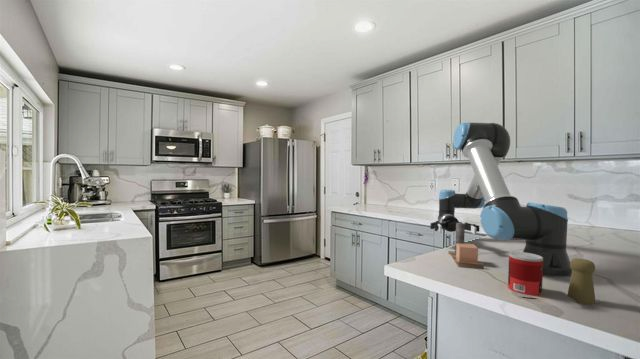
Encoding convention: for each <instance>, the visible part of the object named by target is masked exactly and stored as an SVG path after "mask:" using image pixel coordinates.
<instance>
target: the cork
mask: <svg viewBox="0 0 640 359" xmlns="http://www.w3.org/2000/svg"><path fill="white" fill-rule="evenodd" d="M570 267H571V269H572V274H571V275H570V281H569V283H568V284H569V285H568V290H567V294H566V296H567V297H569V298H570V299H571V300H573V301H574V302H576V303H578V304H582V305H588V306H589V305H591V306H593V305H596V304H597V301H596V294H595V286H594V277H593V274H594V273H595V271H596V265H595V263H594V262H593V261H591V260H589V259H586V258H585V259H584V258H573V259H570Z"/></svg>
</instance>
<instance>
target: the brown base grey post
mask: <svg viewBox="0 0 640 359" xmlns="http://www.w3.org/2000/svg"><path fill="white" fill-rule="evenodd" d="M464 223H465V222H462V223H456V230H455V249H454V250H455V251H454V250H448V251H447V255H450V256H451V257H452V259H453V262H454V263H455V264H456V265H457V267H459V268H465V269H466V268H467V269H477V270H478V269H479V270H480V269H481V270H484V269H485V265H484V263H479V262H478V263H468V262H458V261H457V260H456V244H457V243H459V244H465V231H466V230H465V224H464Z"/></svg>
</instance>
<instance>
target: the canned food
mask: <svg viewBox="0 0 640 359" xmlns="http://www.w3.org/2000/svg"><path fill="white" fill-rule="evenodd" d="M507 274H508V277H507V278H508V281H507V288H508V289H509V290H510V291H513V292H515V293H518V294H520V295H527V297H526V296H521V297H522V298H521V299H525V300H526V299H527V300H539V299H540V298H535V297H528V296H541V295H542V294H543V280H544V279H543V278H544V276H543V275H544V274H543V257H541V256H539V255H536V254H531V253H525V252H523V251H511V252H509V255H508V272H507ZM518 297H519V298H520V296H518Z"/></svg>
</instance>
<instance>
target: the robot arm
mask: <svg viewBox="0 0 640 359" xmlns="http://www.w3.org/2000/svg"><path fill="white" fill-rule="evenodd" d="M452 144H453V147H454V149H455V150H457V151H460V150H461V153H462V155H463V156H464V157H465V158H467V159H469V163H470V166H471V167H472V171H473V173H474V174H473V176H472V179H471V182H470V184H469V186H468V188H467V191H466V192H465V193H456V191H455V190H454V189H441V190H439V194H438V196H439V197H438V215H437V220H436V221H433V222H430V229H431V230H434V232H439V233H442V230H445V231H447V232H451V233H452V232H456V223H464V224H465V231H469V232H470V233H472V234H473V235H477V233H479V232H480V225H477V224H476V223H469V222H466V221H465V222H462V221H459V220H458V218H457V217H456V216H455V210H456V209H474V210H475V209H482V210H481V211H480V224H481V227H482V228H481V229H483V231H484V232H485V234H486V235H487V236H488V237H490V238H492V239H494V240H502V241H508V240H509V241H514V240H515V241H516V240H517V241H519V240H520V241H521V240H522V241H525V245H524V248H523V250H522V252H525V253H531V254H536V255H539V256H541V257H543V275H547V276H553V277H567V276H571V275H572V269H571V267H570V262H571V259H570V257H569V254H568V252H567V241H568V240H567V239H568V238H567V237H568V222H569V218H568V210H567V209H566V208H565V207H562V206H557V205H555V206H554V205H550V204H541V203H535V202H526V206H521V204H520V201H519V200H518V198H517V197H516V196H513V195H511V193H510V190H509V189H508V186H507V184H506V182H505V179H504V177H503V175H502V173H501V171H500V168H499V165H500V163H501V161H502V159H503V158H506V156H507V155H508V153H509V150H510V147H511V136H510V134H509V132H508V130H507V129H506V127H504V126H503V125H501V124H499V123H496V122H490V123H489V122H470V121H469V122H462V123H459V124H458V125H457V126H456V128H455V131H454V133H453V138H452Z"/></svg>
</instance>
